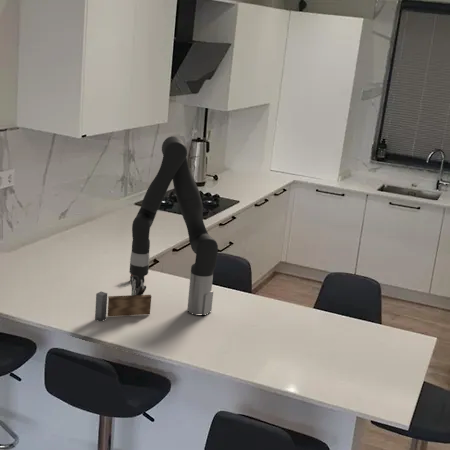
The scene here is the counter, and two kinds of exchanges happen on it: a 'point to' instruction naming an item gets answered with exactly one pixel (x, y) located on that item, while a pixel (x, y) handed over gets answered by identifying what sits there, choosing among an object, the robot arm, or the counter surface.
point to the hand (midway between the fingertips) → (136, 302)
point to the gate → (129, 305)
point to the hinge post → (101, 306)
